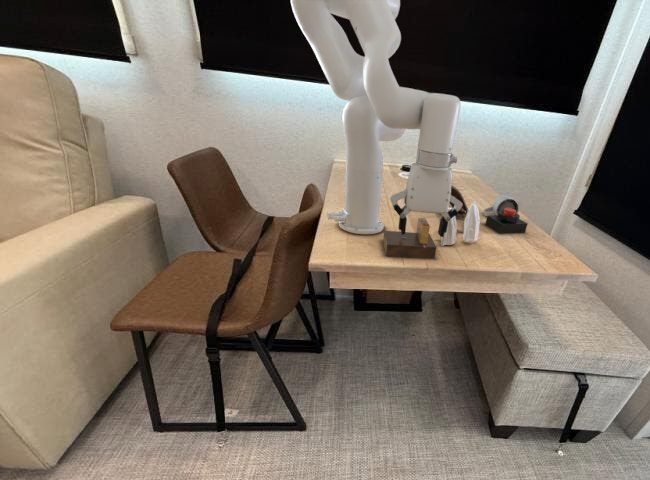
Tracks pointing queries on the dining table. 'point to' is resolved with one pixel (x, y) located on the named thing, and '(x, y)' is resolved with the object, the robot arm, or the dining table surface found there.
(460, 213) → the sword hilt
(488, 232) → the dining table surface
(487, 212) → the ceramic mug
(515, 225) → the bell block
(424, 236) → the lock knob
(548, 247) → the dining table surface
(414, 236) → the plate
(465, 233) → the shaker set
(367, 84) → the robot arm
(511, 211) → the bell button
